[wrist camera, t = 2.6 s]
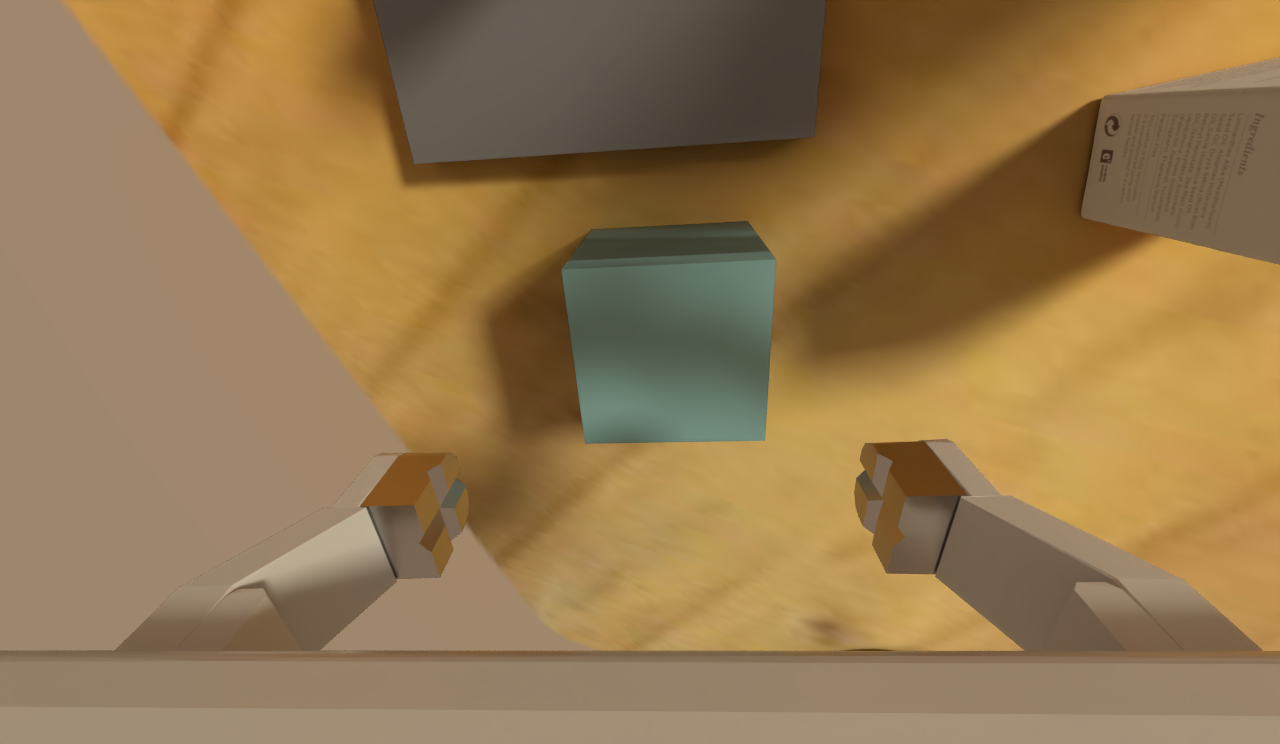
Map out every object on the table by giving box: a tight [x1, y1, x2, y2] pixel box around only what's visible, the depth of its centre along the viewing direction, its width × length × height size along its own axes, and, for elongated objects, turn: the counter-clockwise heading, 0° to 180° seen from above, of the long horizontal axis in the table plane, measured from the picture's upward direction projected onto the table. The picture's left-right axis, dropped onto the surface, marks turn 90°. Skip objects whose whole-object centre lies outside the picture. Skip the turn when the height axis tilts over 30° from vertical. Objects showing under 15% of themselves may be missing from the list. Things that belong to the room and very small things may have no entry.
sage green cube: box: [561, 221, 776, 444], centre depth 18 cm, size 6×6×6 cm
